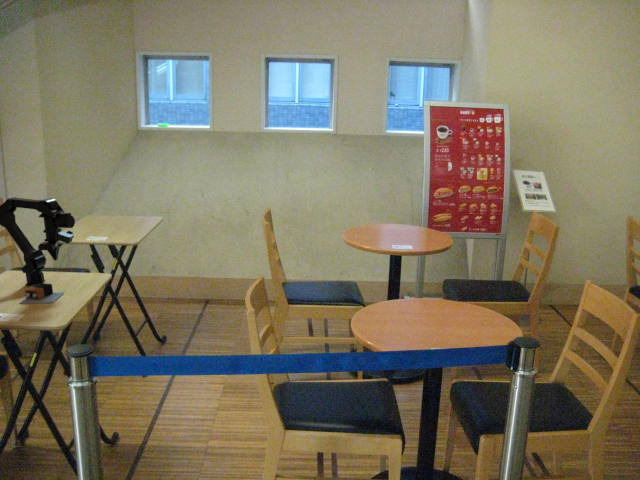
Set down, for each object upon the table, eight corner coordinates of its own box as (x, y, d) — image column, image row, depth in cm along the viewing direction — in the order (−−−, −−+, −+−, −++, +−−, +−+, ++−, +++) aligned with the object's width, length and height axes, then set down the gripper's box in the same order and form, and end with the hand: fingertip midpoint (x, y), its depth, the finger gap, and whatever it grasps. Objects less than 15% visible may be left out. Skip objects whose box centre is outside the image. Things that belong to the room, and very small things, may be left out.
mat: (19, 303, 244) (19, 302, 244) (32, 293, 256) (32, 293, 256) (53, 303, 245) (52, 302, 245) (64, 293, 256) (64, 292, 256)
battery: (39, 282, 256) (22, 290, 247) (52, 283, 254) (36, 291, 245) (40, 291, 257) (24, 299, 248) (53, 293, 256) (37, 301, 246)
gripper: (61, 231, 252) (65, 266, 256) (77, 222, 270) (81, 254, 274) (35, 232, 251) (40, 266, 255) (53, 222, 269) (57, 254, 273)
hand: (55, 260), depth 264 cm, fingers closed
